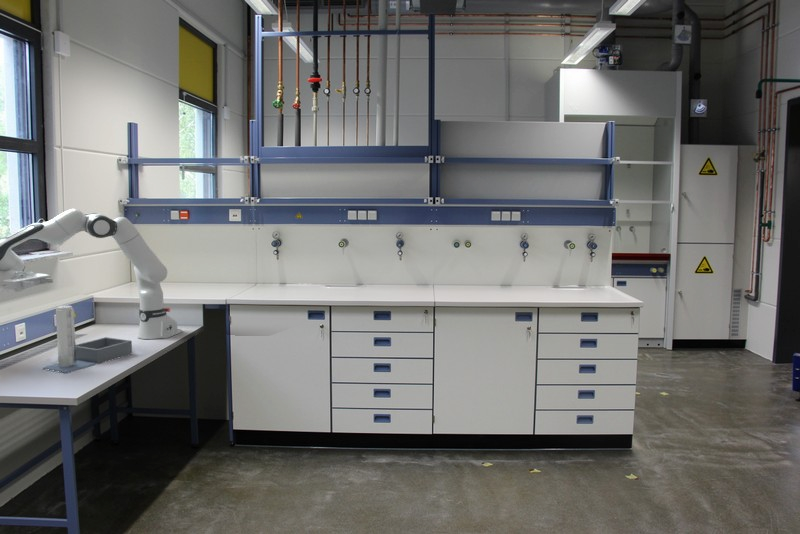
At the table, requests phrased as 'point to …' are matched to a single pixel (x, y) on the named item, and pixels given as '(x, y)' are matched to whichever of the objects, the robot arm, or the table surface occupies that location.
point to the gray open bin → (103, 350)
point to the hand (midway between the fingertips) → (43, 282)
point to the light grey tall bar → (66, 336)
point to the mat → (65, 370)
